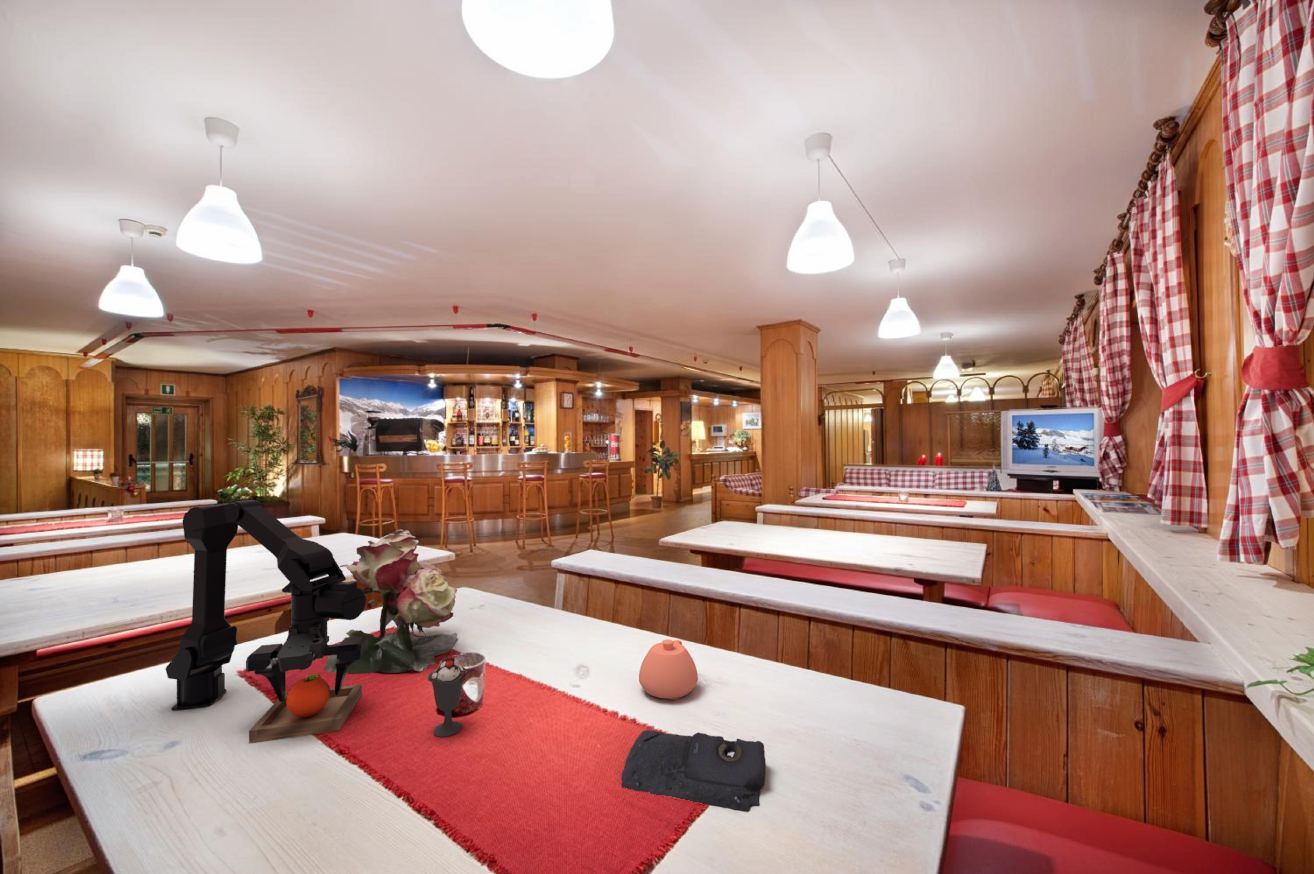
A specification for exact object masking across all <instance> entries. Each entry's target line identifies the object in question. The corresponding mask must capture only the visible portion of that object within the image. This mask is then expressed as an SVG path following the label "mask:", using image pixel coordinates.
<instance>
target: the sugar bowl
mask: <svg viewBox="0 0 1314 874" xmlns="http://www.w3.org/2000/svg"><path fill="white" fill-rule="evenodd" d="M698 678H699V674H698V670H697V666H696V664H695V662H694V659H693V657H692V656H691V653H690V652H689V651H688V650H687V648H686V647H685V645H683V642H682V640H679V639H675V640H673V639H670V638H669V639H664V640H662V641H661V642H658V643H656V644H654V645H652V646H651V647H650V648H649V650H648V651H647V653H646V655H645V657H643V661H642V662H641V665H640V669H639V673H638V682H639V684H640V685H641V687H642V689H643V690H644V691H645V692H646V693H647V694H648V695H650V696H652V697H656V698H660V699H661V698H662V699H670V700H674V701H676V700H680V699H681V698H682V697H685V696H686V695H688V694H690V692H691V691H693V690H694V688H695V687H697V684H698V680H699V679H698Z"/></svg>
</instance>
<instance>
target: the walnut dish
mask: <svg viewBox="0 0 1314 874" xmlns="http://www.w3.org/2000/svg"><path fill="white" fill-rule="evenodd" d="M362 685H363V684H361V683H360V684H351V685H342V687H341V689H340V692H339V694H338V695H335V686H333V687H330V696H329V700H328V702H327V703H326V705H325V706H324V707H323V709H321V710H320V711H319V712H318V713H316V714H314V715H312V716H309V717H297V716H294V715H293V714H292V713H290V711H289V710H288V708H287V704H286V700H287V695H288V693H289V692H285V699H284V701H283V702H280V701H279V699H278V698H277V700H276V701H275V702H274V703H273V704H272V705H271V707H270V708H269V709H268V710H267V711H266V712H264V714H263V715H262V716H261V717H260V718H259V719H258V720H257V722H256V723H254V725H253V726H252V727H251V728H250V729H249V730H248V743H249V744H252V743H260V742H266V741H274V740H280V739H281V740H282V739H288V738H296V737H297V738H298V737H302V736H310V735H317V734H318V735H319V734H325V733H326V734H327V733H333V732H339V731H340V730H341V729H342V728H343V726H344V724H345V722H346V721H347V719H348V717H349V716H350V715H351V713H352V711H353V709H354V708H355V706H356V705H357V703H358V701H359V700H360V698H361V696H362V695H363V693H362V691H363V690H362V689H363V686H362Z"/></svg>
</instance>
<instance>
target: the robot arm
mask: <svg viewBox="0 0 1314 874" xmlns="http://www.w3.org/2000/svg"><path fill="white" fill-rule="evenodd" d="M182 526H183V536H184V540H186V541H187V543H188V544H189V545H190V546H191V547H192V549H193V550H194V551H193V553H194V555H193V556H194V558H193V561H194V562H193V583H192V584H193V586H192V612H191V617H192V618H191V622H190V624H189V626H188V627H187V628H186V630H185V632H184V633H183V634H182V635H181V638H180V641H179V648H178V652H177V654H176V655H175V656H174V657H173V658H172V659H171V660H170V662H169V663H168V664H167V665H166V667H165V673H166V676H167V679H170V680H176V703H175V704H174V705H172V706H171V711H177V710H185V709H186V710H187V709H194V708H202V707H208V706H211V705H212V704H214V703H215V702H216V701H217V700H219V698H221V697H222V696H223V695H224V694H225V693H226V692H227V688H226V686H225V685H226V682H225V681H226V680H225V679H226V675H225V672H223V666H224V665H226V664H230V662H231V660H232V659H231V658H232V655H233V653H234V651H235V646H237V645H238V642H237V633H238V627H237V626H236V625H231V623H229V621H227V619H226V618H225V613H226V612H225V611H226V610H225V609H226V606H225V605H226V580H227V579H226V578H227V559H228V558H227V555H228V554H227V552H228V547H229V546H230V544H231V542H232V541H233V539H235V537H236V536H237V534H238V530H239V527H240V528H241V529H242V530H244V531H245V532H246V533H247V534H248V535H250V537H252V538H253V539H254V540H255V541H256V542H258V543H259V544H260V545H261V546H263V547H264V548H265V550H267V551H268V552H270V553H271V554H272V555H273V556H274V557H275V558H276V562H277V569H278V570H279V571H280V572H281V574H282V575H283V576H284V577H285V578H286V579H287V581H288V582H289V583H288V584H286V585H285V586H283V588H282V589H281V592H282V593H286V594H291V595H290V596H291V598H290V599H291V603H290V605H291V606H290V609H291V610H290V611H291V614H290V615H291V620H290V621H291V622H290V623H291V624H290V626H289V627H288V631H287V633H288V634H287V638H286V640H285V641H284V643H272V644H265V645H264V644H262V645H260V646H259V647H258V648H256V649H255V650H254V651H253V652H251V653H250V654H249V655H248V656H247V658H246V660H245V672H254V675H256V676H257V675H260V676H262V677H265V678H266V679H267V681H268V682H269V683H270V685H271V687H272V688H273V691H274V693H275V695H276V697H277V700H278V699H279V701H280V702H283V701H284V699H285V693H286V689H287V686H286V684H287V683H286V682H287V681H286V676H287V675H286V672H288V671H295V670H296V671H297V670H299V671H302V670H307V669H308V668H310V667H311V666H312V664H313V661H316V660H317V659H319V660H320V659H323V658H324V657H329V656H331V655H337V659H338V661H337V663H336V664H335V666H336V672H335V680H334V687H335V695H338V694H339V692H340V689H341V687H342V686H343V683H344V681H345V678H346V676H347V674H348V673H347V670H348V668H349V666H350V665H351V664H353V663H354V662H355V661H356V660H358V659H361V657H362V656H363V655H364V653H365V652H366V650H367V649H368V640H367V638H366V637H365V636H355V637H349V636H346V637H344V638H343V640H342V641H341V642H340V643H336V644H333V643H332V644H329V642H330V635H328V622H329V621H330V619H331V620H332V619H333V620H334V619H335V620H344V621H345V620H346V621H353V620H355V619H358V618H359V617H360V616H361V615H362V613H363V612H364V609H365V607H366V603H367V597H366V594H365V595H364V592H363V591H362V589H361V588H359V587H358V582H357V581H356V580H355V581H351V580H350V581H346V579H347V578H346V576H345V574H344V573H343V570H342V569H341V567H340V565H339V564H338V563H337V561H336V559H335V558H334V554H333V552H332V551H331V550H330V549H329V548H328V547H325V546H324V545H322V544H320V543H319V542H316V541H313V540H308V539H305V538H302V537H301V536H298V535H297V534H296V533H295V532H293V531H292V530H291V529H290V528H288V526H286V525H285V524H284V523H283V522H281V520H279V519H278V518H276V517H275V516H274V515H273V514H272V513H270V512H269V511H268V510H266V509H265V508H264V506H263V504H262V502H261V501H259V500H256V499H249V500H248V499H247V500H238V501H233V502H231V503H227V502H225V503H218V504H212V505H211V504H209V505H200V506H193V507H191V508H189V510H187V512H185V513H184V514H183V518H182Z"/></svg>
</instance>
